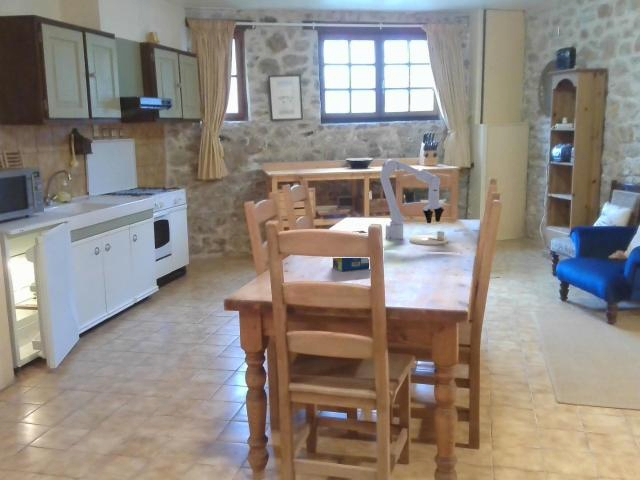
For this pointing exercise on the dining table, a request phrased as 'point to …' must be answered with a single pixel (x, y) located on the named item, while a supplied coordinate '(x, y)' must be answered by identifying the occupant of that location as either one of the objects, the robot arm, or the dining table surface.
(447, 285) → the dining table surface
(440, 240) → the dial
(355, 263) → the protein box
